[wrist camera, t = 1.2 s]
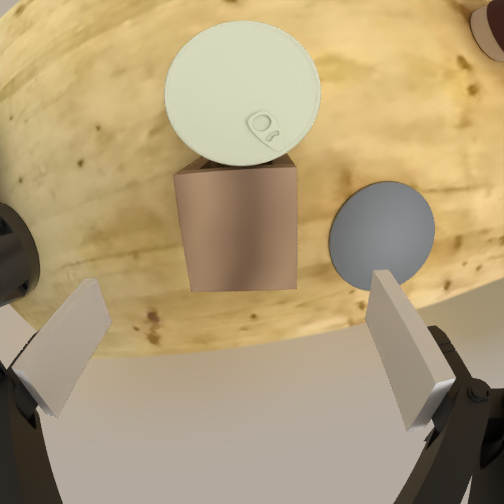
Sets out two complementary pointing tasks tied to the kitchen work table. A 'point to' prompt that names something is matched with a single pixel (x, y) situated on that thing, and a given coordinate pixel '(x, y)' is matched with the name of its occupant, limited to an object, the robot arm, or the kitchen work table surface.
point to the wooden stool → (239, 225)
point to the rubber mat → (381, 233)
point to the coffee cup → (490, 29)
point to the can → (242, 93)
